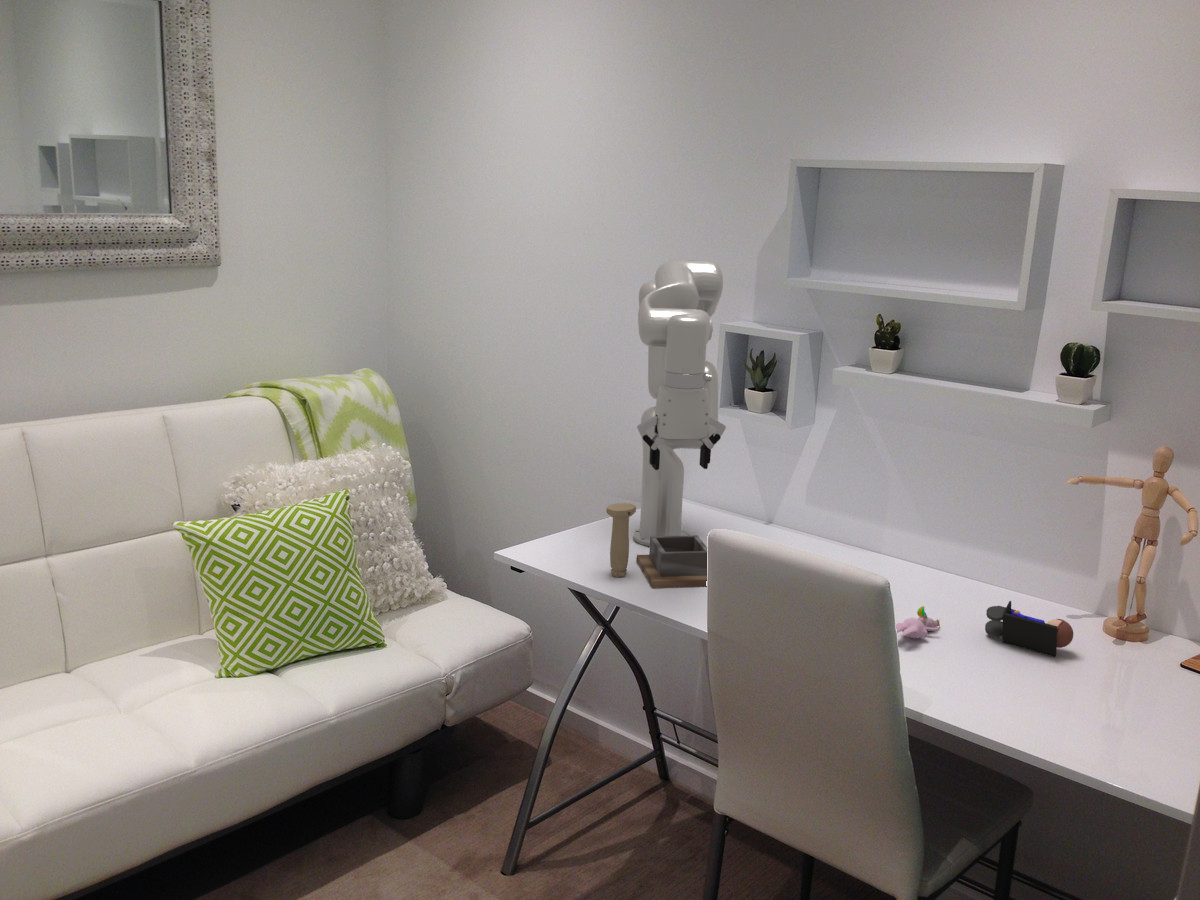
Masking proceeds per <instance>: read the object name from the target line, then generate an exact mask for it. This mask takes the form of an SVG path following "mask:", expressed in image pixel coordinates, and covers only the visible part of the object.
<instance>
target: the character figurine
mask: <svg viewBox="0 0 1200 900" xmlns="http://www.w3.org/2000/svg"><path fill="white" fill-rule="evenodd" d="M985 611H986V612H985V613H986V617H987V619H989V620H988V621H987V622H986V623H985V625H984V630H985V633H987V635H988V636H991V637H994V638H995V637H997V638H998V637H1002V644H1006V645H1010V646H1012V647H1013V646H1014V647H1018V648H1020V649H1025V650H1028V651H1032V652H1035V653H1039V654H1042V655H1047V656H1050V657H1052V658H1053V657H1054V658H1056V657H1057V651H1058V649H1059V648H1060V649H1061V648H1065V647H1067V646H1069V645H1070V644H1071V643H1072V641H1073V639H1074V630H1073V628H1072V627H1073V626H1071V624H1070V623H1068V621H1066V620H1064V619H1060V618H1054V619H1050V620H1048V621H1047V622H1045V620H1044V619H1040V618H1036V617H1032V616H1028V615H1026V614H1025V615H1024V614H1022V613H1021V611H1020V610H1017V609H1014V608H1012V600H1009V601H1008V603H1007V605H1006V606H1002V605H992V606H990V607H989V606H988V608H986V610H985ZM1057 648H1058V649H1057Z"/></svg>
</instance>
